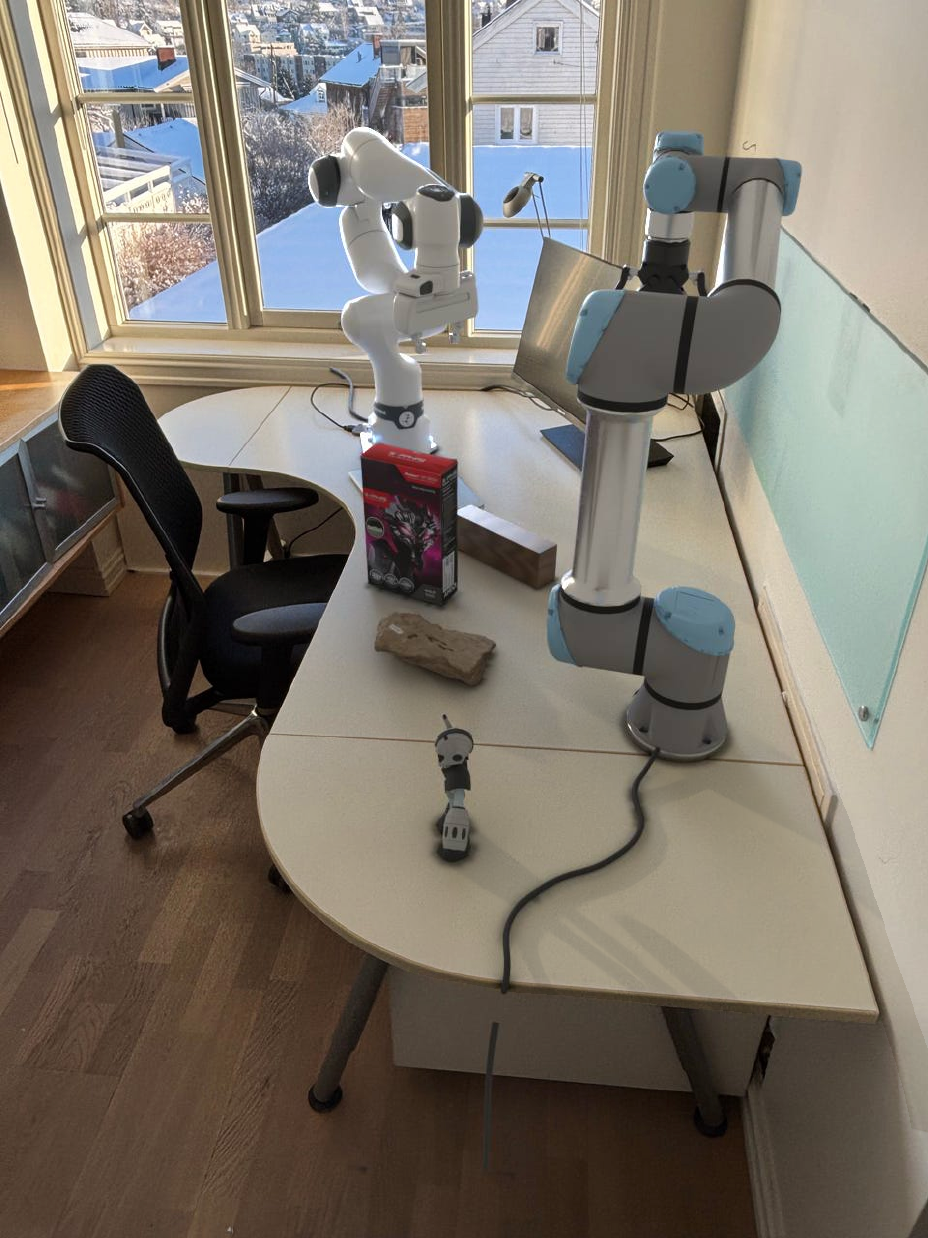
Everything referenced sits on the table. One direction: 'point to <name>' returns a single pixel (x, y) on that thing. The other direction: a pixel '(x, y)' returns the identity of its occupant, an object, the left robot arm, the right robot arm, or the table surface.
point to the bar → (506, 546)
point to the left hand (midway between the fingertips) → (437, 347)
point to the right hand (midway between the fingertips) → (652, 365)
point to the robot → (454, 790)
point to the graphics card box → (411, 521)
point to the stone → (434, 646)
